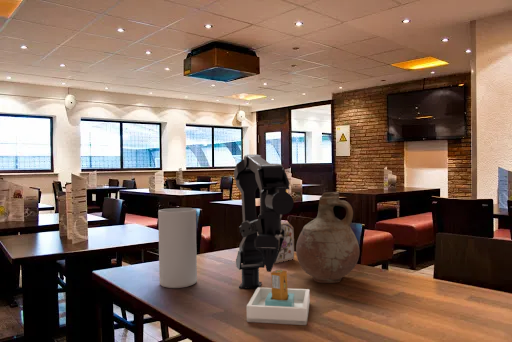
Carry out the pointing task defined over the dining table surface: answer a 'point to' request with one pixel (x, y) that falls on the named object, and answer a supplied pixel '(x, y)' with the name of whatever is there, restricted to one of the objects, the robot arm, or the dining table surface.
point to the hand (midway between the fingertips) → (271, 267)
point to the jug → (328, 242)
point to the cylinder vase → (177, 247)
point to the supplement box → (279, 285)
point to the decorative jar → (286, 243)
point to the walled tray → (279, 307)
